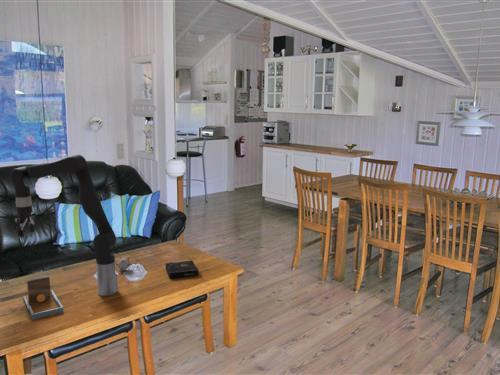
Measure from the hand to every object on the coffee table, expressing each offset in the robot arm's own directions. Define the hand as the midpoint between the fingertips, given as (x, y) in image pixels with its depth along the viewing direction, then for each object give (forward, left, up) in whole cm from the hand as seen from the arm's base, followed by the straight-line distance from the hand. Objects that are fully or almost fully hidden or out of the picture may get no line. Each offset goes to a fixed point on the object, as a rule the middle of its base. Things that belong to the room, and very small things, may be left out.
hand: (26, 234), depth 237 cm
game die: (-40, -30, -30) cm, 58 cm away
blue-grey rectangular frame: (-26, +25, -29) cm, 47 cm away
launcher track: (-18, +17, -29) cm, 38 cm away
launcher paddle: (-15, +14, -29) cm, 36 cm away
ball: (-18, +17, -27) cm, 37 cm away
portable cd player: (-74, -35, -30) cm, 87 cm away
